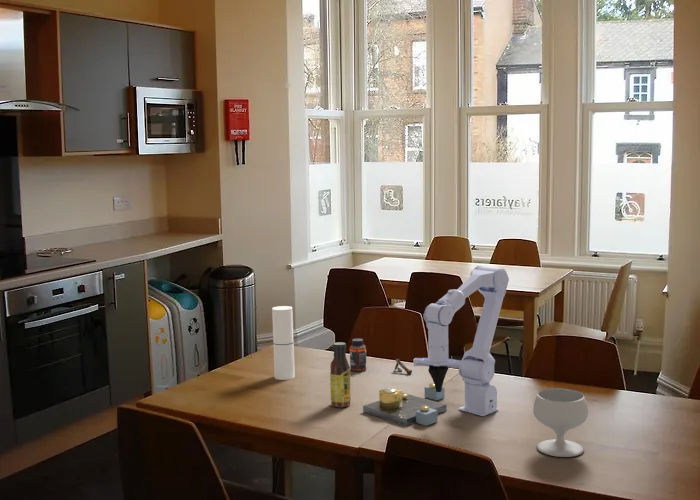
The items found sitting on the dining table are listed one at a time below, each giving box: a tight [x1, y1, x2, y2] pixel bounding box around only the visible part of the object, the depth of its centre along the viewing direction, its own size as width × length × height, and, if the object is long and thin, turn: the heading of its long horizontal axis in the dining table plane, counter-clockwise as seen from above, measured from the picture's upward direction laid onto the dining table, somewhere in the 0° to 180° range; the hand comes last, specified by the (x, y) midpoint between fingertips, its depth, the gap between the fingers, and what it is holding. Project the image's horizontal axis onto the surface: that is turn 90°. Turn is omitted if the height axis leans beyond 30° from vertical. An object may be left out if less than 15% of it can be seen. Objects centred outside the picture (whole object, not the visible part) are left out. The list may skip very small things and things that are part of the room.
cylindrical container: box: [271, 305, 296, 381], centre depth 285 cm, size 7×7×25 cm
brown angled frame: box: [394, 358, 413, 376], centre depth 289 cm, size 2×8×4 cm, turn 38°
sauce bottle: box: [329, 341, 352, 409], centre depth 252 cm, size 6×6×20 cm
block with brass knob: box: [416, 406, 439, 426], centre depth 235 cm, size 4×5×4 cm
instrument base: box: [362, 387, 448, 427], centre depth 245 cm, size 18×18×7 cm
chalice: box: [532, 387, 589, 458], centre depth 212 cm, size 14×14×15 cm
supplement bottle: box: [349, 338, 367, 373], centre depth 293 cm, size 6×6×11 cm
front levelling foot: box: [424, 382, 446, 401], centre depth 258 cm, size 5×4×4 cm
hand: (438, 391), depth 233 cm, fingers closed
